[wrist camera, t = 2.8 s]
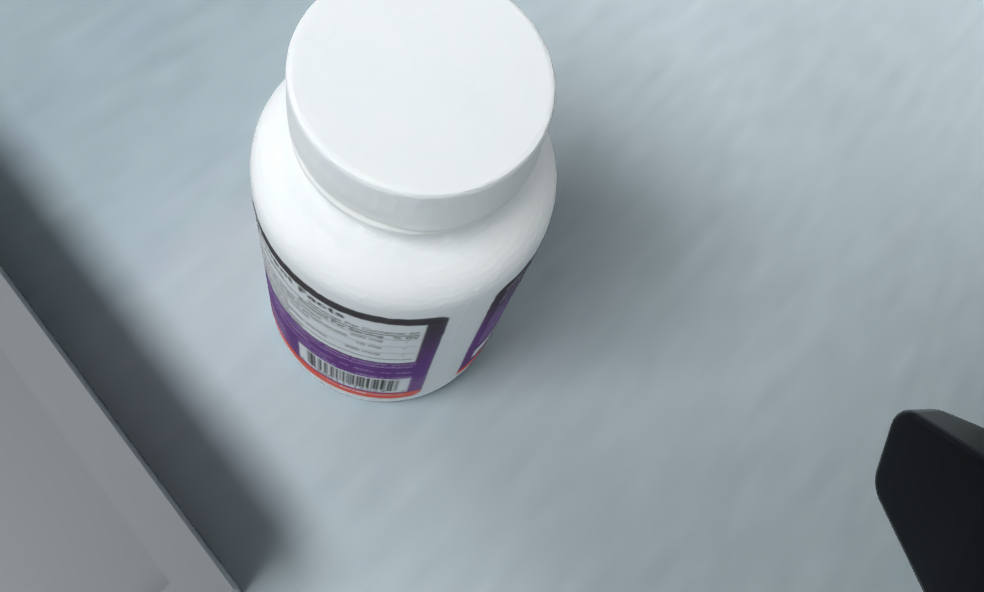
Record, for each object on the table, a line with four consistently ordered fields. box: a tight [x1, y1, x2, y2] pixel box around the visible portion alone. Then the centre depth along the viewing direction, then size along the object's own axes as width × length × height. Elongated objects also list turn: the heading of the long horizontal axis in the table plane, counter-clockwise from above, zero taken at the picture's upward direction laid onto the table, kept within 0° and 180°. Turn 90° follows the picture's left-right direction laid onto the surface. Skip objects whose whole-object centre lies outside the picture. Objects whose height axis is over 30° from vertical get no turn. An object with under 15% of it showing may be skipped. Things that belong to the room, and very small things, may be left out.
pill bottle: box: [250, 0, 557, 402], centre depth 18 cm, size 5×5×10 cm
